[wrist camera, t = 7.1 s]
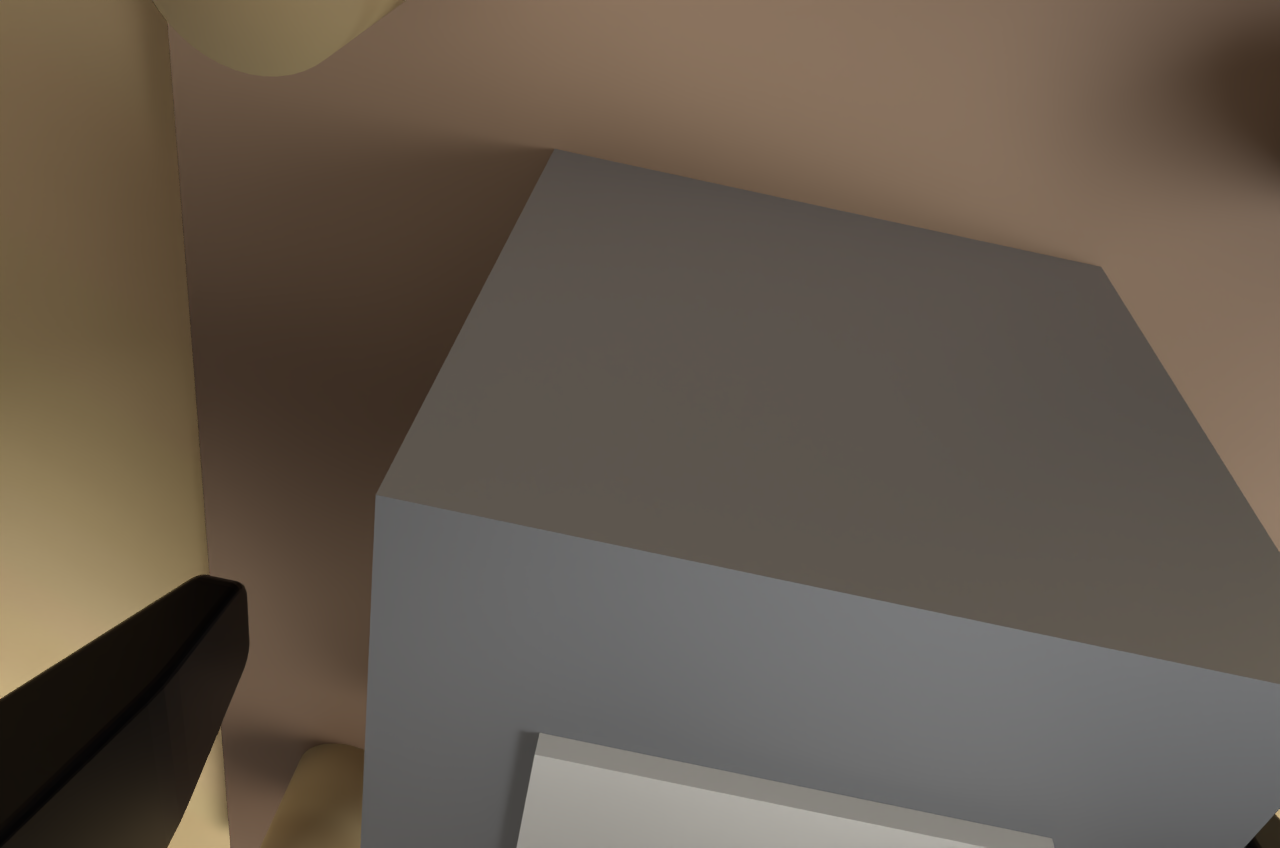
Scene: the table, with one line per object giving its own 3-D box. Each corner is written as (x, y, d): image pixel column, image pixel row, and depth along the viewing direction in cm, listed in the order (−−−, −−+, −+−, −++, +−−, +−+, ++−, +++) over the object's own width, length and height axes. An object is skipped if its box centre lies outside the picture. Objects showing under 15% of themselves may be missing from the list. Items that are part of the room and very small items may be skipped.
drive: (840, 799, 14) (873, 1277, 9) (474, 723, 14) (341, 1173, 9) (1100, 266, 9) (1387, 727, 5) (554, 148, 9) (364, 515, 5)
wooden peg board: (952, 977, 17) (987, 1210, 15) (253, 833, 17) (155, 1042, 14) (1882, -314, 7) (2583, -344, 4) (170, -718, 7) (-226, -1015, 4)
